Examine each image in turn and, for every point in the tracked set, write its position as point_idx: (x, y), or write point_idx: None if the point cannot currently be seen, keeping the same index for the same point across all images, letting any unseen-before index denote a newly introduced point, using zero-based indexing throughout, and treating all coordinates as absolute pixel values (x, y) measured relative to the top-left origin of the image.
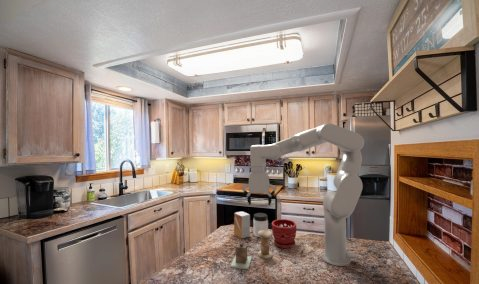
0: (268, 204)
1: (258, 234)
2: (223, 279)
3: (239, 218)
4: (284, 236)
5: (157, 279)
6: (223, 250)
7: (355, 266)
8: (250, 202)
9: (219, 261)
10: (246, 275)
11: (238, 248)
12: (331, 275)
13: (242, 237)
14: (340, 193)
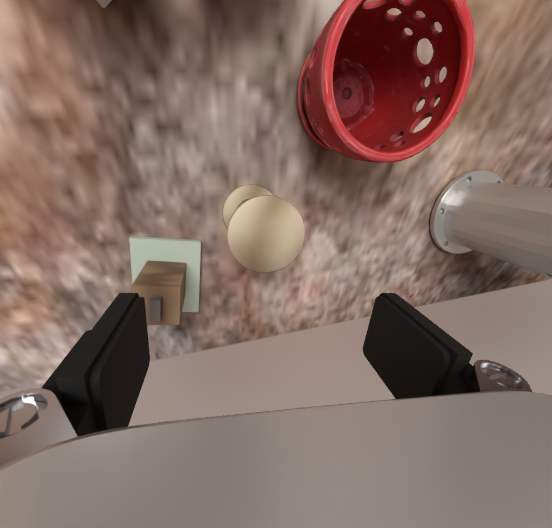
0: (365, 354)
1: (231, 251)
2: None
3: None
4: (360, 47)
5: None
6: (51, 187)
7: None
8: (142, 359)
9: (77, 280)
10: (197, 335)
11: (148, 322)
12: (412, 294)
13: (106, 2)
14: None
